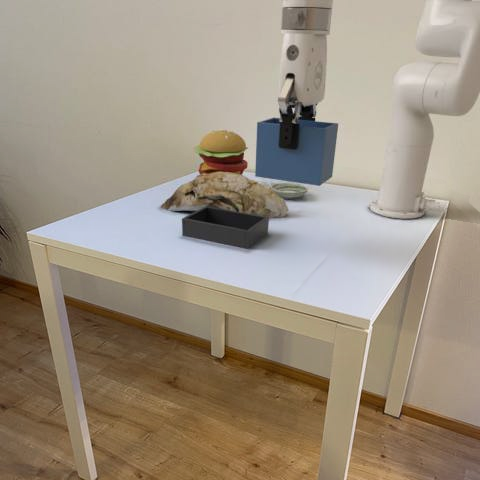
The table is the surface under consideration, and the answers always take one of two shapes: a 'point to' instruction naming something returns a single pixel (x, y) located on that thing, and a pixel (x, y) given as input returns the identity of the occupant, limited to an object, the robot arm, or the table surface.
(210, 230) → the charcoal bin
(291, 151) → the blue bin
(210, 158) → the hamburger
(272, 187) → the saucer
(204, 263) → the table surface
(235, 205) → the rock
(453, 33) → the robot arm
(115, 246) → the table surface
